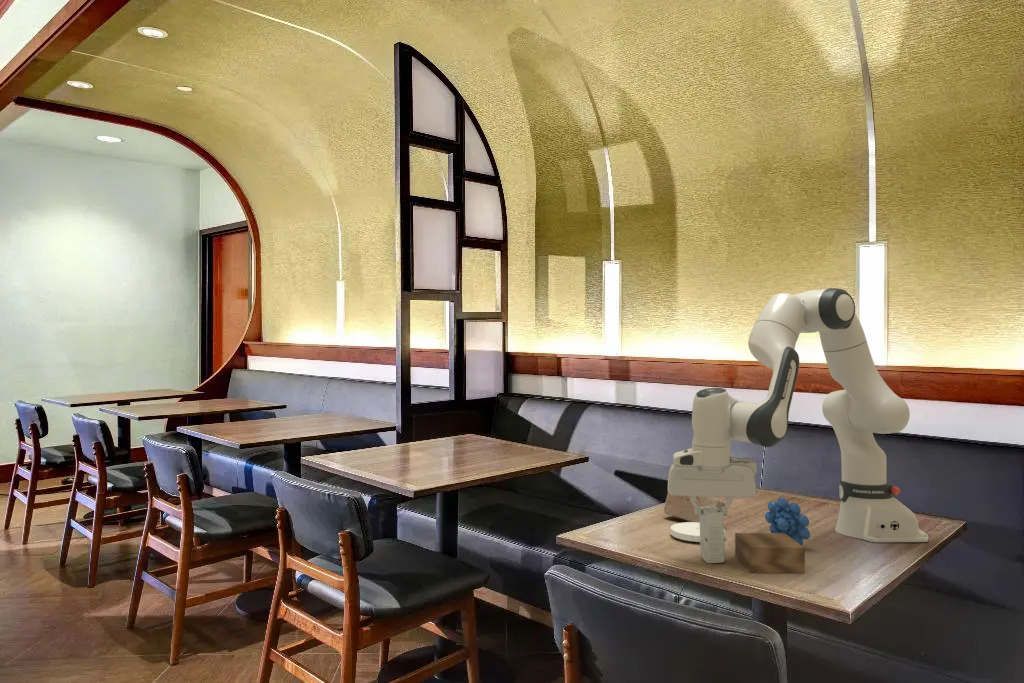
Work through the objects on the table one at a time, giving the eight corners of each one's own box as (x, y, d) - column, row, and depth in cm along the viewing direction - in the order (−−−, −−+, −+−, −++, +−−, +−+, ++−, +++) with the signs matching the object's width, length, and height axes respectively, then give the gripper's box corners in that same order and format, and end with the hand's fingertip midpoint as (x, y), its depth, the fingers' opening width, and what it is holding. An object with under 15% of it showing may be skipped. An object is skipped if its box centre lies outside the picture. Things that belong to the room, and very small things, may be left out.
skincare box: (700, 556, 175) (696, 506, 175) (718, 554, 175) (715, 505, 175) (707, 564, 169) (704, 512, 169) (726, 562, 169) (723, 511, 169)
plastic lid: (660, 538, 191) (660, 529, 191) (687, 528, 202) (687, 519, 202) (708, 549, 182) (708, 539, 182) (734, 538, 192) (734, 528, 192)
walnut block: (784, 557, 175) (785, 533, 175) (804, 574, 163) (804, 547, 163) (735, 557, 175) (735, 533, 175) (751, 574, 163) (751, 547, 163)
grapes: (757, 544, 185) (757, 497, 185) (769, 539, 190) (769, 493, 190) (802, 554, 177) (802, 505, 177) (813, 548, 182) (814, 500, 181)
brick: (727, 500, 201) (718, 498, 198) (719, 530, 200) (711, 528, 197) (677, 487, 214) (668, 484, 210) (670, 515, 212) (661, 512, 209)
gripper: (754, 455, 173) (754, 513, 173) (667, 453, 176) (667, 510, 177) (758, 460, 167) (758, 519, 167) (668, 457, 170) (668, 516, 170)
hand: (711, 514), depth 172 cm, fingers open, 5 cm apart
